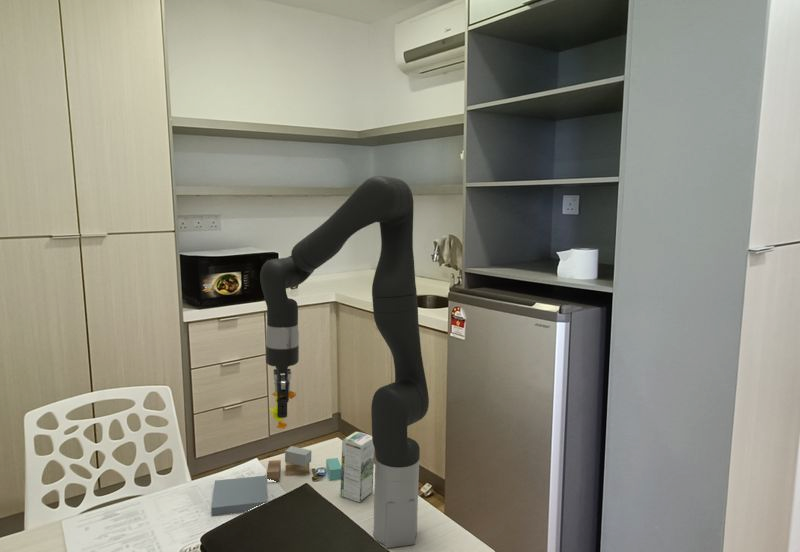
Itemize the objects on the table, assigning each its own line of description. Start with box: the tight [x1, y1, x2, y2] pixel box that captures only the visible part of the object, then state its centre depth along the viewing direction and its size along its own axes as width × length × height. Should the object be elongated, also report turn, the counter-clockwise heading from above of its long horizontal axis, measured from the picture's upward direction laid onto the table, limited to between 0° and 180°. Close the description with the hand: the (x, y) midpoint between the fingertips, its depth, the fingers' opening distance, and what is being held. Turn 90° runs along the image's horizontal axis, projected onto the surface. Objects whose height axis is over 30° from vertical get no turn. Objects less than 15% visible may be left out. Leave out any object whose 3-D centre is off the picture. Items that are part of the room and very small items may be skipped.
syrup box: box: [339, 431, 375, 503], centre depth 128 cm, size 6×6×14 cm
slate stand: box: [211, 474, 268, 517], centre depth 126 cm, size 12×12×2 cm
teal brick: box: [325, 457, 341, 481], centre depth 139 cm, size 6×3×3 cm, turn 16°
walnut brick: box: [266, 459, 282, 483], centre depth 137 cm, size 6×3×3 cm, turn 9°
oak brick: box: [285, 462, 310, 477], centre depth 139 cm, size 6×3×3 cm, turn 102°
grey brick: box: [284, 445, 312, 466], centre depth 139 cm, size 6×3×3 cm, turn 69°
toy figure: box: [268, 379, 297, 429], centre depth 127 cm, size 7×4×12 cm, turn 80°
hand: (281, 413), depth 128 cm, fingers closed on toy figure, 3 cm apart
